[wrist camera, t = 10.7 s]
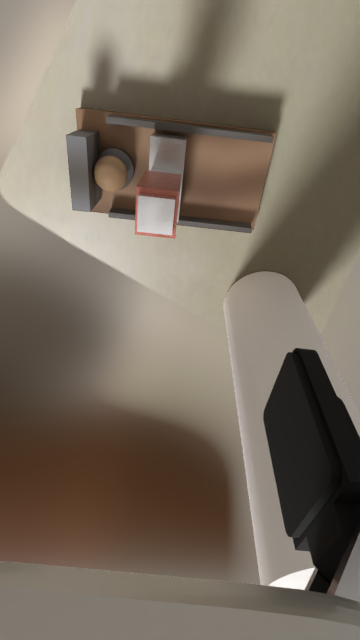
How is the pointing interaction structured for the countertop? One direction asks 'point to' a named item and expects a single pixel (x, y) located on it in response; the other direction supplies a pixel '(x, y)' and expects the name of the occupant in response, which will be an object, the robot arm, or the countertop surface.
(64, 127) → the countertop surface
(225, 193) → the nutcracker board
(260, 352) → the cylinder container
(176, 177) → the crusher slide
